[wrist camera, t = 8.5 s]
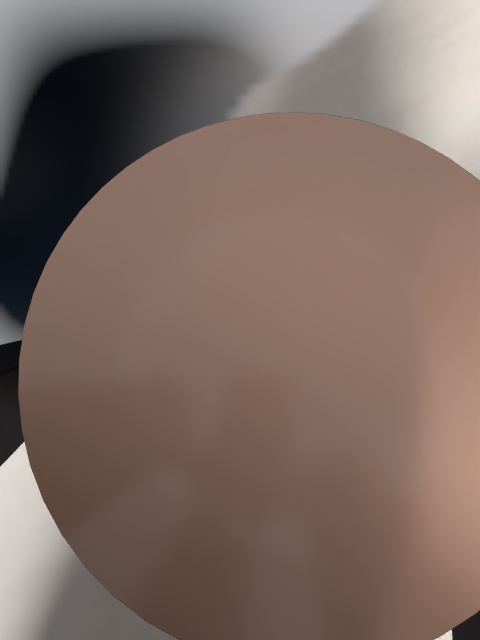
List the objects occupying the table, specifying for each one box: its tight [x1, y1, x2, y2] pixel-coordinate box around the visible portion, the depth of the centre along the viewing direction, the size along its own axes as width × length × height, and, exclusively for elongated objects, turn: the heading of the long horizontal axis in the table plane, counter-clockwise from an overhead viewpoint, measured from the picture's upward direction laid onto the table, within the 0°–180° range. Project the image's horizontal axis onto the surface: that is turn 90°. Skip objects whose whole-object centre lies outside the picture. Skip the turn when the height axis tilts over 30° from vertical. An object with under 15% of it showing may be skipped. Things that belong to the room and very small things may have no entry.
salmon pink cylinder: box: [18, 112, 480, 640], centre depth 11 cm, size 8×8×11 cm
